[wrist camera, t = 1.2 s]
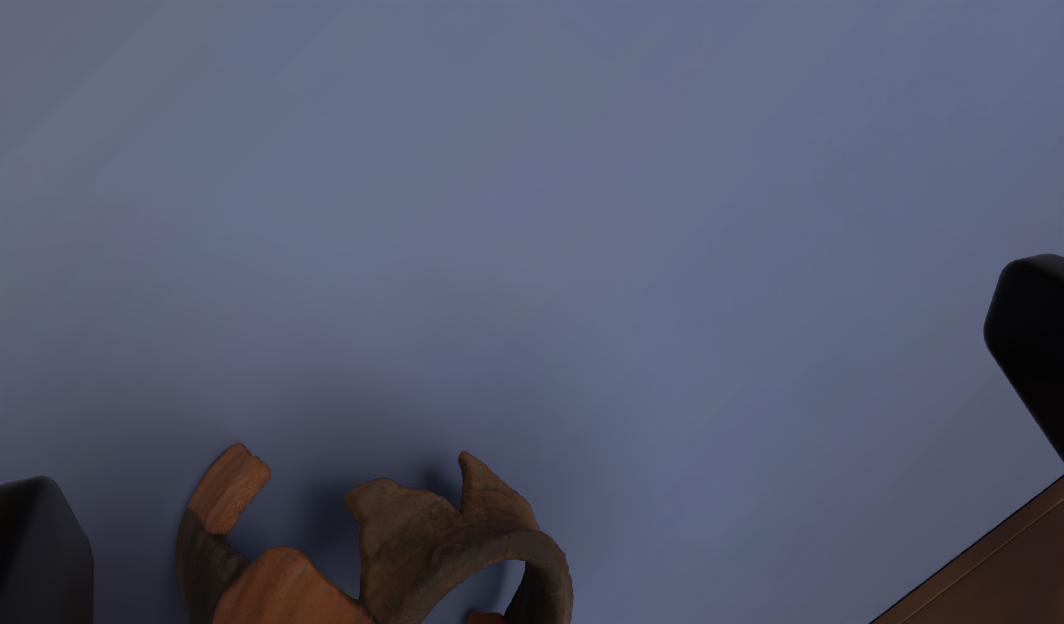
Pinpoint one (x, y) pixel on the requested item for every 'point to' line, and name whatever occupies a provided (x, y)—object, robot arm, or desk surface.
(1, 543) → the robot arm
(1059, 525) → the cabinet
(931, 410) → the desk surface
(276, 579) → the pottery mug
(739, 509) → the desk surface
